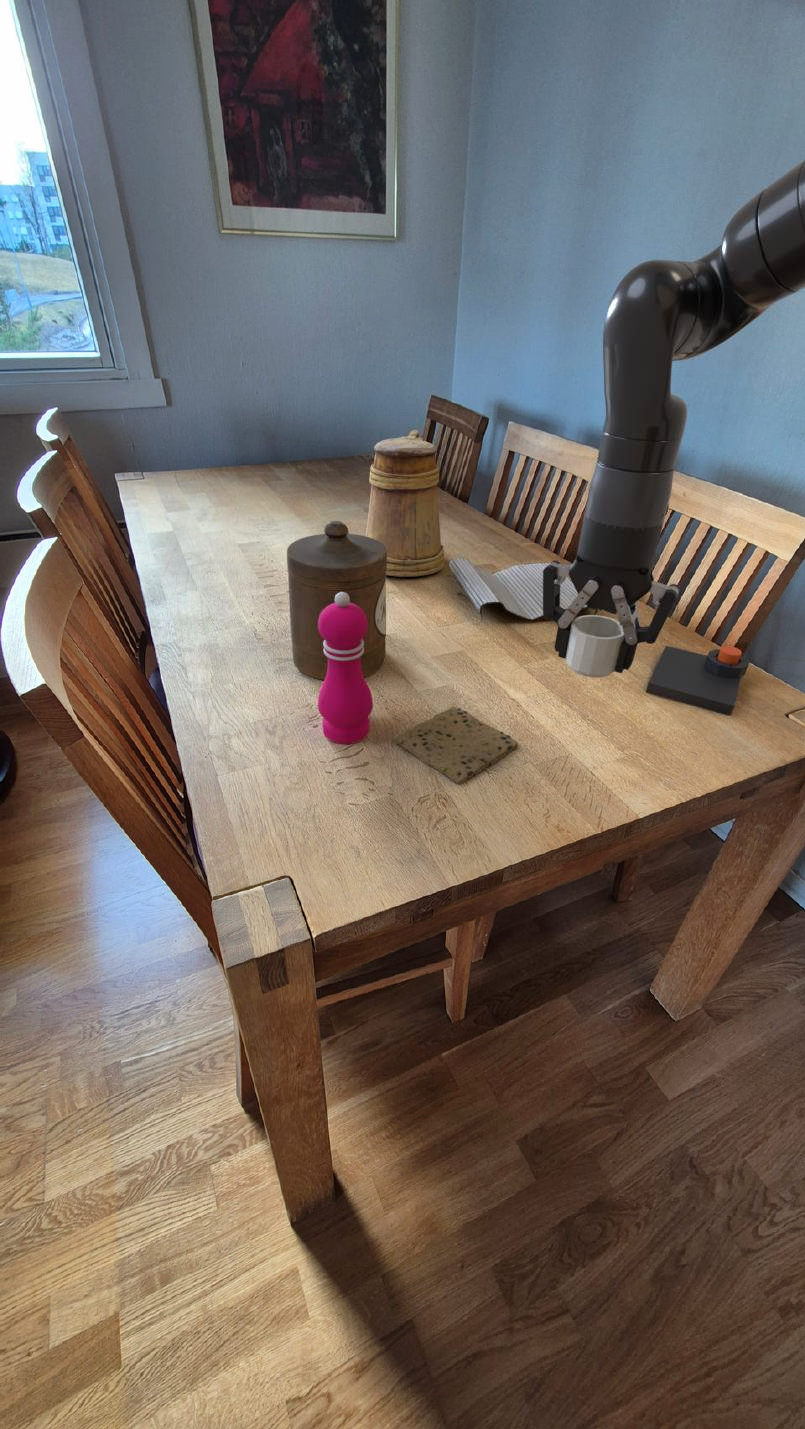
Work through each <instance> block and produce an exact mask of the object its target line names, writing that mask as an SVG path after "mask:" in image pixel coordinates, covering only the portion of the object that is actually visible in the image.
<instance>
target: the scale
mask: <svg viewBox="0 0 805 1429" xmlns="http://www.w3.org/2000/svg"><path fill="white" fill-rule="evenodd" d="M720 649H721V648H720ZM720 649H719V648H716V649H715V648H714V649H713V650H710V651H708V653H707V654H702V653H698V652H694V651H691V650H687V649H683V648H679V647H674V646H670V645H665V646H664V648H663V650H662V652H661V655H660V656H659V659H658V661H657V663H656V665H655V667H654V670H653V672H652V674H651V676H650V678H649V680H648V683H647V685H646V689H645V693H647V694H650V695H654V696H657V697H662V698H665V699H669V700H672V701H676V702H680V703H682V704H683V703H684V704H686V705H690V706H694V707H697V708H702V709H706V710H709V711H712V712H716V713H720V714H723V715H727V716H732V713H733V710H734V708H735V704H736V700H737V697H738V691H739V688H740V683H741V679H742V677H744V676H746V673H747V671H748V669H749V665H750V660H749V659H748V658H747V657H746V656H745V655H743V654H741V657H740V659H739V662H738V664H728V663H724V662H722V661H720V660H718V655H719V652H720Z"/></svg>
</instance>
